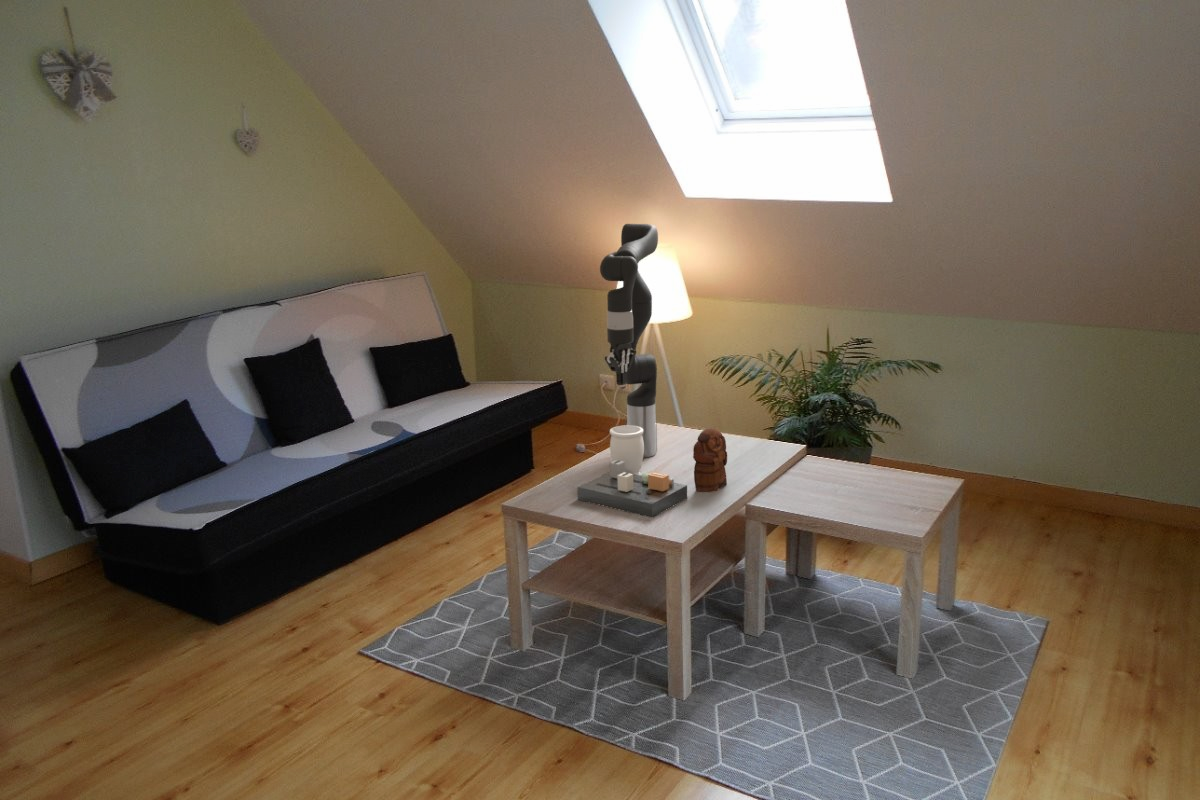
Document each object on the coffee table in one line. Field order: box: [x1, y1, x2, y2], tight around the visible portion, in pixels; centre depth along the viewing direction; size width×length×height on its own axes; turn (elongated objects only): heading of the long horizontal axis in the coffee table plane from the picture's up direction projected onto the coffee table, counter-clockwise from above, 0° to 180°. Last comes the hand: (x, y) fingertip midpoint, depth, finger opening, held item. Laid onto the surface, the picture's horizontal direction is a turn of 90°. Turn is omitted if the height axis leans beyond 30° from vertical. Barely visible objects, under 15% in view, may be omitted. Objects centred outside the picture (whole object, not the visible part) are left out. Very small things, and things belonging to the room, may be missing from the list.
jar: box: [609, 424, 644, 476], centre depth 308 cm, size 11×10×15 cm
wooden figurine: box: [692, 427, 728, 493], centre depth 296 cm, size 12×6×18 cm, turn 141°
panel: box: [576, 471, 688, 518], centre depth 289 cm, size 18×26×6 cm
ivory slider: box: [617, 472, 633, 492], centre depth 285 cm, size 3×3×5 cm
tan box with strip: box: [648, 471, 670, 491], centre depth 285 cm, size 3×5×4 cm, turn 53°
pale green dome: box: [641, 472, 652, 484], centre depth 291 cm, size 4×4×2 cm
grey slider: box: [609, 460, 625, 479], centre depth 296 cm, size 3×3×5 cm
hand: (621, 384), depth 292 cm, fingers closed
